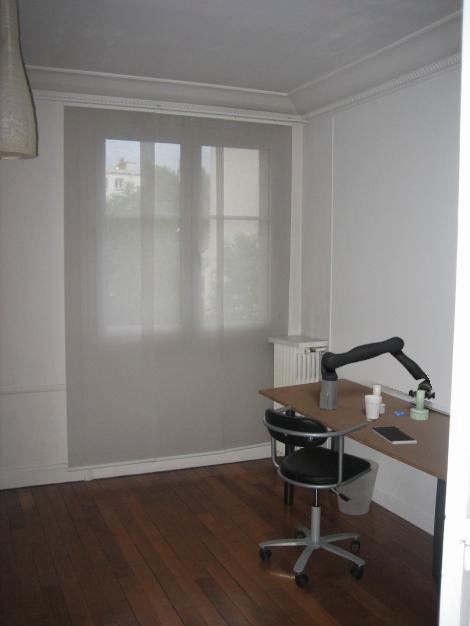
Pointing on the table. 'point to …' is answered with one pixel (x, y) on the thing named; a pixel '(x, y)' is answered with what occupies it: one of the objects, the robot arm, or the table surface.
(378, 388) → the white joystick
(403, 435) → the smartphone
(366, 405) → the foam cup
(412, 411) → the pale green pedestal post
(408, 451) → the table surface
